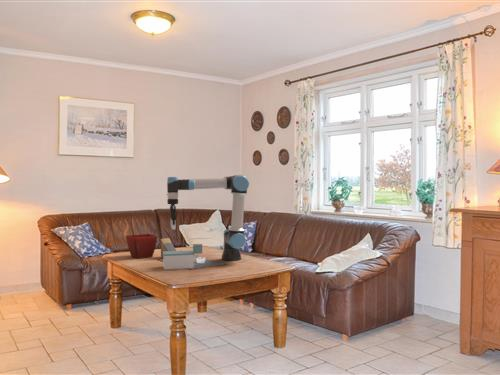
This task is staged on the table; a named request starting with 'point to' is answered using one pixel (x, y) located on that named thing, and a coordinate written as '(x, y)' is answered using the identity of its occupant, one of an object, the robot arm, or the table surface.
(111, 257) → the table surface
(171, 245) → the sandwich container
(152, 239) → the plant pot
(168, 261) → the tub
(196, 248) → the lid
